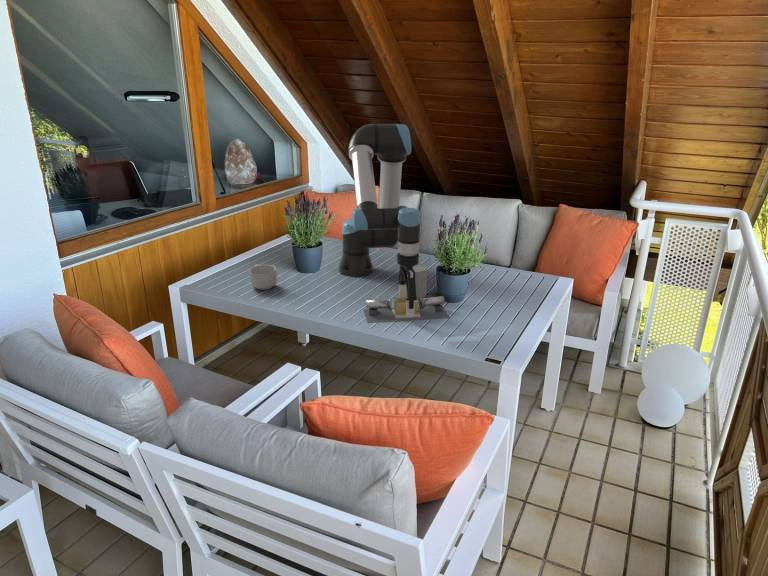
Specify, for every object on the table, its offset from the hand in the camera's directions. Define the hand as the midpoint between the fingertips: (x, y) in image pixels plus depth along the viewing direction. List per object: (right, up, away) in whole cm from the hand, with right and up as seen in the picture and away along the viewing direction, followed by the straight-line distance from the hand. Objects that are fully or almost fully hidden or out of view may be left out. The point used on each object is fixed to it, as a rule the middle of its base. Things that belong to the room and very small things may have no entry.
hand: (406, 308), depth 209 cm
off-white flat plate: (0, -2, +1) cm, 2 cm away
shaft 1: (-10, -2, +1) cm, 10 cm away
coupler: (0, -1, 0) cm, 1 cm away
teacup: (-58, +8, +28) cm, 64 cm away
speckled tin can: (+4, +4, +19) cm, 20 cm away
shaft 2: (+9, -1, +4) cm, 10 cm away
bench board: (0, -3, +1) cm, 3 cm away
